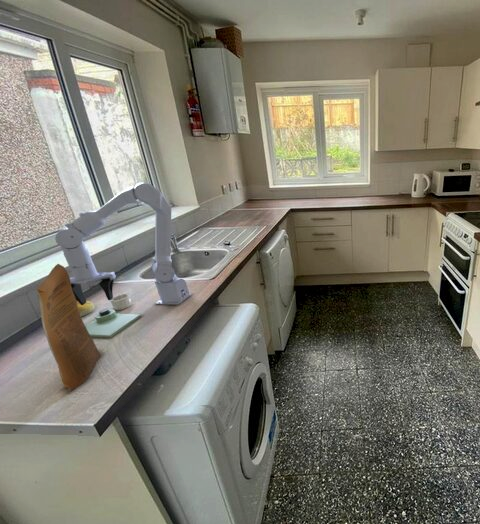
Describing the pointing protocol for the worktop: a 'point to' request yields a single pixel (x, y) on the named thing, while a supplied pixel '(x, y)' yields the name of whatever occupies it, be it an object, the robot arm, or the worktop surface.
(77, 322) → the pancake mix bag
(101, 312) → the scale button
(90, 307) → the bread roll
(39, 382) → the worktop surface
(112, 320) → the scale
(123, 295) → the cup
